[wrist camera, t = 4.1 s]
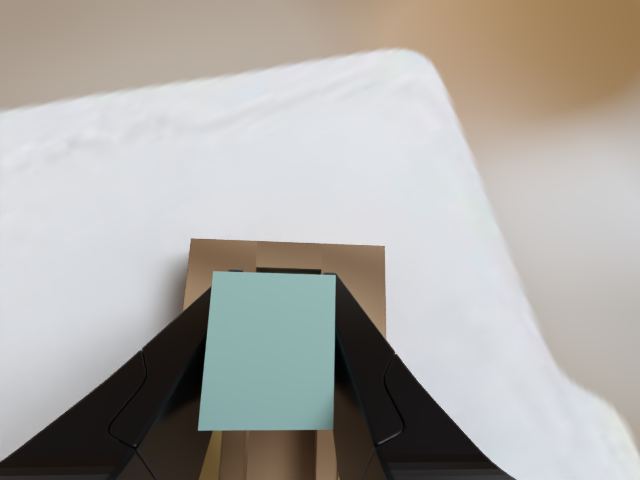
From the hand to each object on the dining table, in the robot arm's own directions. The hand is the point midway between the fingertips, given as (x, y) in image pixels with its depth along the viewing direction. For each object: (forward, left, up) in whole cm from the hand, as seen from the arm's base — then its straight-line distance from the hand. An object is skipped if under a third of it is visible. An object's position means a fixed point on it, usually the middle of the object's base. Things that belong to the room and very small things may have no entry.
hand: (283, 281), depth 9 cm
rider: (-1, -1, -5) cm, 5 cm away
